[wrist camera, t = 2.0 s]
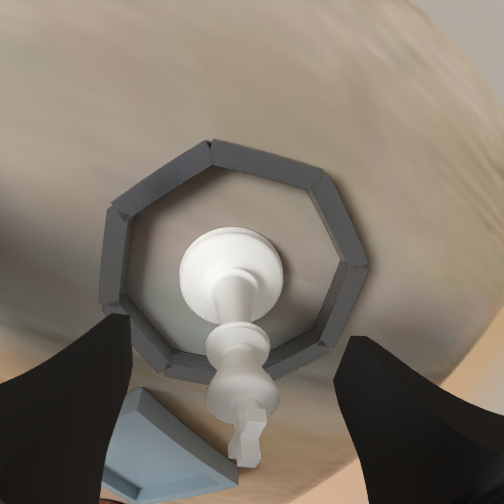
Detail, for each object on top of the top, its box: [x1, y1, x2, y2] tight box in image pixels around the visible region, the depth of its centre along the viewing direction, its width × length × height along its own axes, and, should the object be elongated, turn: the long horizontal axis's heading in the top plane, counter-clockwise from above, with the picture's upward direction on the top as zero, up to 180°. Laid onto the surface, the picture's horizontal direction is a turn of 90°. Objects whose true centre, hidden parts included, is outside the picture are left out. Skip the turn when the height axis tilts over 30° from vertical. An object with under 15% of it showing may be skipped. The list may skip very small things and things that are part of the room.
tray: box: [101, 387, 239, 504], centre depth 19 cm, size 11×11×2 cm
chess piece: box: [179, 227, 283, 468], centre depth 11 cm, size 5×5×10 cm
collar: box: [99, 139, 369, 385], centre depth 15 cm, size 12×12×1 cm
